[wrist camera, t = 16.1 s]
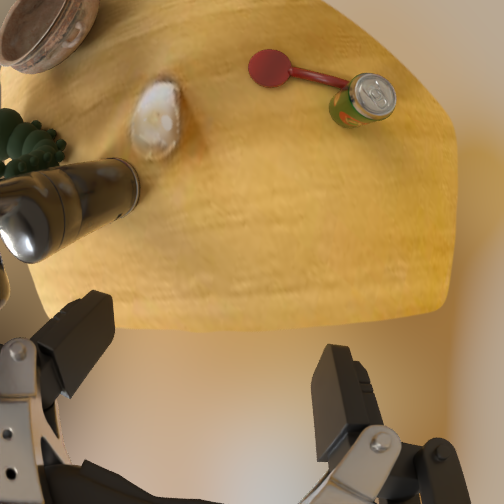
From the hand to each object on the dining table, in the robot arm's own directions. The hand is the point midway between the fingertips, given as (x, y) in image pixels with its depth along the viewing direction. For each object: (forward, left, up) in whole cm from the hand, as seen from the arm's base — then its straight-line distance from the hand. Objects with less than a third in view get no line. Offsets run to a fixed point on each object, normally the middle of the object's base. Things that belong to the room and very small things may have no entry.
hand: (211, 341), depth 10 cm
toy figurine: (-41, +5, -30) cm, 51 cm away
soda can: (+9, +15, -30) cm, 35 cm away
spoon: (+4, +18, -30) cm, 35 cm away
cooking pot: (-38, +26, -30) cm, 55 cm away
